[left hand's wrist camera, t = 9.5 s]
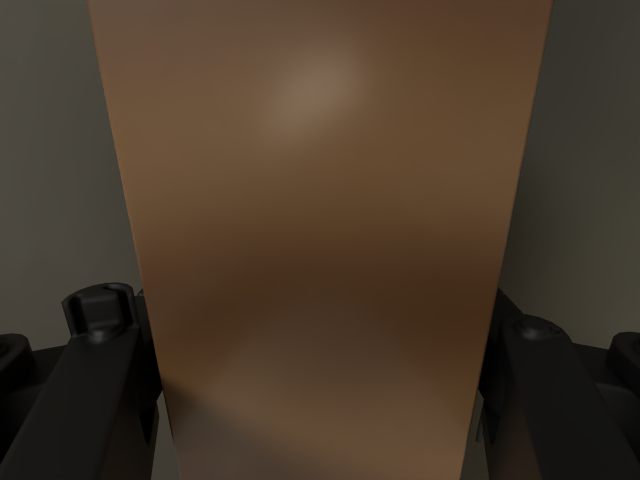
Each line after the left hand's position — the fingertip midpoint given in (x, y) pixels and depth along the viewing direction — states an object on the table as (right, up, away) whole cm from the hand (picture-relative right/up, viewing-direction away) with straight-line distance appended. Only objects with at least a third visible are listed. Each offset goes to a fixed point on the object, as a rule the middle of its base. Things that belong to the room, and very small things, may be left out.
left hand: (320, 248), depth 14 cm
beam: (0, -31, +13) cm, 34 cm away
